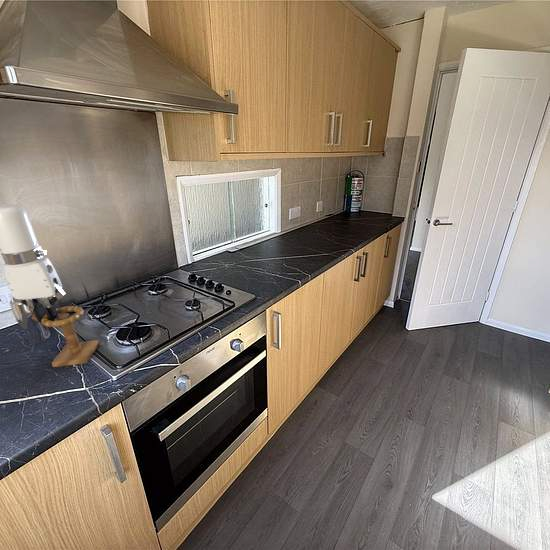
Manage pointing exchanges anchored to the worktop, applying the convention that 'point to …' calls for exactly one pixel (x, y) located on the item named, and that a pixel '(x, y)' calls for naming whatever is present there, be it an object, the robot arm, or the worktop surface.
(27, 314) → the beer glass
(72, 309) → the ring
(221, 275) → the worktop surface
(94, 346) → the stand
